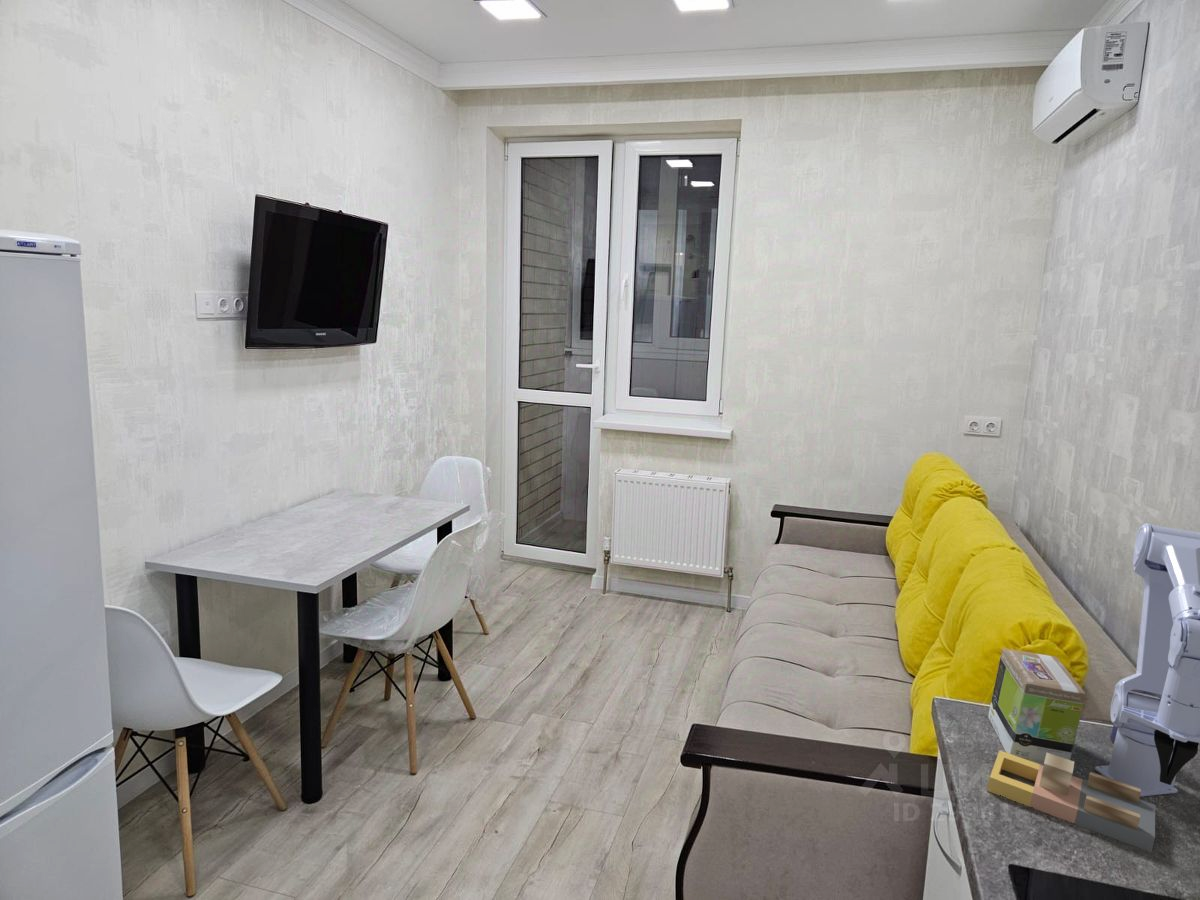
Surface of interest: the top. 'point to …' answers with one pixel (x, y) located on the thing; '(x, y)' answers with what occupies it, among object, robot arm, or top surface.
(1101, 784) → the channel walls
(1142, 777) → the robot arm
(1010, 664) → the tea box
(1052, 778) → the birch block
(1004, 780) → the board
